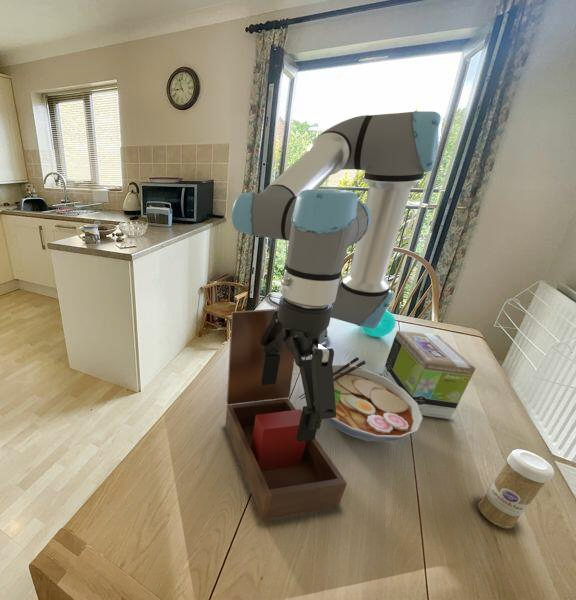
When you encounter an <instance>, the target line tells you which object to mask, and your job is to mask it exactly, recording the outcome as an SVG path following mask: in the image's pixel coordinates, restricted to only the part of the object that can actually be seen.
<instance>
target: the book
mask: <svg viewBox="0 0 576 600" xmlns="http://www.w3.org/2000/svg"><path fill="white" fill-rule="evenodd" d="M301 414H302V409H301V408H300V409H296V410H291V411H283V412H275V413H267V414H259V415H256V416H255V423H254V430H253V437H252V444H251V450H252V452H253V454H254V456H255V459H256V461H257V463H258V465H259V468H260V470H261V471H267V470H273V469H280V468H287V467H293V466H300V465H301V461H302V457H303V453H304V449H305V445H306V441H301V442H298V440H297V439H296V436H297V431H298V427H299V423H300V418H301Z"/></svg>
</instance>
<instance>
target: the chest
mask: <svg viewBox="0 0 576 600" xmlns="http://www.w3.org/2000/svg"><path fill="white" fill-rule="evenodd" d="M291 410H297V409H296V408H295V406H294V405H293V403H292V401H290V399H289V398H280V399H272V400H263V401H254V402H246V403H237V404H227V405H226V412H225V413H226V414H225V426H224V427H225V429H226V432H227V434H228V437H229V440H230V443H231V444H232V447H233V450H234V452H235V455H236V458H237V460H238V463H239V466H240V468H241V471H242V473H243V476H244V478H245V481H246V484H247V486H248V488H249V492H250V494H251V496H252V499H253V501H254V504H255V507H256V510H257V512H258V515H259V518H260V520H261V521H265V520H271V519H276V518H282V517H287V516H294V515H300V514H304V513H310V512H317V511H322V510H327V509H333V508H339V506H340V504H341V501H342V498H343V496H344V493H345V490H346V487H347V484H348V483H347V481H346V480H345V478H344V477H343V475H342V474H341V473H340V471H339V470H338V468H337V467H336V465H335V464H334V462H333V461H332V459H331V458H330V457H329V456H328V454H327V452H326V451H325V450H324V448H323V447H322V445H321V443H320V442H319V440H318V439H317V438H316V437H315V439H314V440H308V441H306V445H305V449H304V453H303V457H302V461H301V465H300V466H293V467H287V468H280V469H273V470H267V471H261V470H260V468H259V465H258V463H257V461H256V459H255V456H254V454H253V452H252V450H251V444H252V437H253V430H254V423H255V416H256V415H259V414H267V413H275V412H283V411H291Z"/></svg>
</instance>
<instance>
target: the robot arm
mask: <svg viewBox="0 0 576 600" xmlns="http://www.w3.org/2000/svg"><path fill="white" fill-rule="evenodd" d="M442 123H443V122H442V115H441V114H440V113H439V112H437V111H427V110H426V111H423V110H421V111H419V110H414V111H406V112H393V113H383V114H382V113H381V114H370V115H369V114H365V115H358V116H354V117H351V118H349V119H344V120H343V121H341V122H338V123H336V124H335V125H332V126H331V127H329V128H327V129H326V130H324V131H323V132H321V133H320V134H319V135H317V136H316V137H315V138H314V139H312V141H311V142H310V144H309V145H308V147H307V151H306V152H305V153H304V154H302V155H301V156H300V157H299V158H298V159H297V160H296V161H295V162H294V163H292V164H291V165H290V166H289V167H288V168H287V169H286V170H284V171H283V172H282V173H281V174H280V175H279V176H278V177H276V179H275V180H273V181H272V182H271V183H270V184H269V185H268V186H266V187H265V189H263V190H262V191H261V192H255V191H252V192H243V193H241V194H239V195H238V196H237V197H236V199H235V201H234V203H233V206H232V209H231V220H232V221H231V222H232V223H231V224H232V226H233V228H234V229H235V231H236V232H239V233H242V234H246V235H250V236H252V237H254V236H256V237H263V238H269V239H275V240H276V239H277V240H282V241H288V246H287V253H286V260H285V265H284V273H283V274H284V275H283V279H282V280H281V285H282V286H281V289H280V293H281V296H280V297H279V301H278V302H276V301H274V300H272V299H271V293H268V301H269V302H271V303H272V304H274V305H276V306H278V307H277V309H278V310H274V313H273V317H272V320H271V322H270V324H269V326H268V328H267V330H266V331H265V333H264V335H263V337H262V339H261V345H262V346H263V345H264V352H265V361H264V367H263V374H262V381H261V383H262V385H268V384H276V379H277V373H278V368H279V362H280V355H279V354H276V353H278V352H281V350H282V349H284V348H285V347H286V348H287V349H288V350H290V351H291V353H292V354H293V356H294V364H295V365H296V366H297V367H298V369H299V373H300V378H301V383H302V387H303V392H304V393H305V395H304V396H305V398H304V399H305V404H306V405H303V406H302V409H301V411H302V414H301V418H300V423H299V427H298V431H297V436H296V439H297V440H298V442H301V441H308V440H314V439H315V438H316V435H317V432H318V431H317V430H319V429H320V428H321V424H322V421H323V420H325V419H327V418H335V417H336V404H335V392H334V380H333V367H332V365H334V364H333V363H334V356H335V351H334V348H332V347H325V346H326V345H327V344H328V339H329V333H328V327H329V326H330V322H331V318H332V319H335V320H338V321H343V322H345V323H348V324H352V325H356V326H357V327H362V326H363V327H367V328H376V327H377V326H378V325H379V323H380V321H381V319H382V317H383V315H384V313H385V311H386V309H387V310H388V307H389V305H390V304H391V301H392V299H393V298H394V296H395V292H394V291H392V290H391V289H390V286H391V285H390V284H391V283H390V282H389V281H388V279H387V278H386V276H387V274H388V270H389V266H390V263H391V259H392V256H393V253H394V250H395V245H396V242H397V239H398V235H399V231H400V228H401V225H402V221H403V218H404V214H405V211H406V207H407V204H408V200H409V197H410V194H411V191H412V188H413V187H414V186H415V185H416V184H418V183H419V182H421V181H422V180H423V177H424V175H425V174H424V173H429V172H432V171H433V170H434V168H435V165H436V160H437V156H438V152H439V146H440V140H441V135H442V133H441V132H442ZM343 170H345V171H346V170H355V171H364V174H363V180H364V181H365V182H366V184H367V185H368V189H367V195H366V199H365V203H364V202H363V201H361V199H359V196H358V194H357V193H356V192H353V191H350V190H344V189H327V188H322V189H321V188H320V187H321V186H322V185H323V184H324V183H325V182H326V181H327V180H328V179H329V177H330V176H332V175H335V174H337V173H339V172H340V171H343ZM353 245H355V247H354V252H353V256H352V260H351V265H350V270H349V273H346V274H345V275H343V276H342V270H343V266H344V264H345V263H344V262H345V259H346V256H347V251H348V248H350V247H351V246H353ZM341 276H342V278H341ZM308 357H309V358H310V359H303V358H308ZM304 393H303V394H304Z"/></svg>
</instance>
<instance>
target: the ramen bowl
mask: <svg viewBox="0 0 576 600" xmlns="http://www.w3.org/2000/svg"><path fill="white" fill-rule="evenodd" d="M359 360H360V358H359V357H357V356H356V357H354V358H353V359H352V360H350V361H349V362H347V363H346V364H332V367H333V380H334V392H335V404H336V417H335V418H327V419H324V420H325V421H326V422H327V423H328V424H329V425H330V426H332V427H333V428H335V429H337V430H338V431H340V432H342V433H344V434H346V435H347V436H349V437H353V438H356V439H359V440H362V441H366V442H393V441H396V440H399V439H401V438H404V437H406V436H409V435H411V434H414V433H416V432H417V431H419V429H420V426H421V424H422V421H423V419H424V417H423V415H422V414H421V411H420V409H419V406H418V404H417V402H416V401H415V400H414V399H413V398H412V397H411V396H410V395H409V394H408V393H407V392H406V391H405V390H404V389H402V388H401V387H399V386H398V385H396V384H395V383H393V382H392V381H390V380H389V379H387V378H385V377H383V376H382V375H380V374H378V373H375V372H373V371H371V370H369V369H365V368H360V367H362V366H364V365H366V363H367V361H366V360H362V361H360V362H359ZM356 362H358V363H357V364H355V363H356ZM354 364H355V365H354ZM352 365H354V366H352ZM298 399H300V400H304V399H306V398H305V393H302V394H301V395H299V396H298Z"/></svg>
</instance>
